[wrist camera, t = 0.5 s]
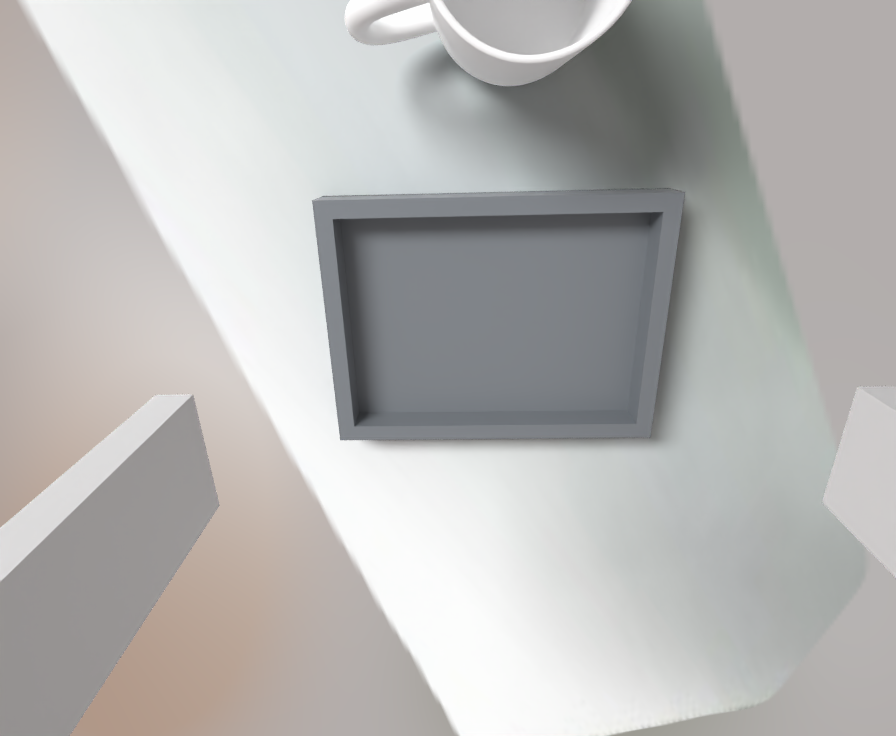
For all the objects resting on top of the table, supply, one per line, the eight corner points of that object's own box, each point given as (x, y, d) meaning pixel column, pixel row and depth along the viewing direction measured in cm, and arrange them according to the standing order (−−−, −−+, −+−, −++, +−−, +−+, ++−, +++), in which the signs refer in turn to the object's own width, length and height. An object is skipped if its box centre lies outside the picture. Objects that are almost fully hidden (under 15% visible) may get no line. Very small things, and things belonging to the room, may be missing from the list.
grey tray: (323, 196, 32) (312, 200, 29) (668, 188, 31) (684, 192, 29) (347, 421, 37) (340, 440, 35) (638, 419, 37) (650, 437, 34)
